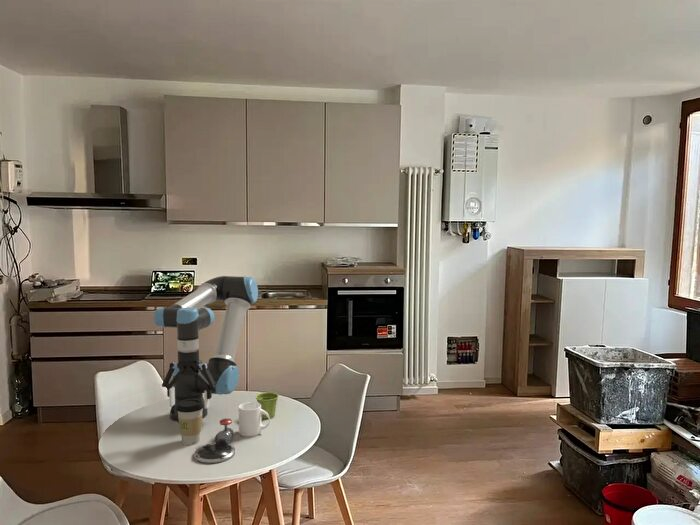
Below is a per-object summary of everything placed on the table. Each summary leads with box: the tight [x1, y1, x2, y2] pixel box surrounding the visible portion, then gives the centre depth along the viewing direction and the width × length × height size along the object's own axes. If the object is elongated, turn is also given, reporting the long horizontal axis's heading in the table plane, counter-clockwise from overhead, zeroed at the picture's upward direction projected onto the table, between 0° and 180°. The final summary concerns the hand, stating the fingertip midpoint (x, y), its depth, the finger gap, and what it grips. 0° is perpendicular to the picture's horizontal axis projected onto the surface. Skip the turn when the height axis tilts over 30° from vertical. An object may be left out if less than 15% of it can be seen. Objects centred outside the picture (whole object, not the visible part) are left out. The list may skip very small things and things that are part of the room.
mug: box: [238, 401, 271, 438], centre depth 206 cm, size 9×12×11 cm
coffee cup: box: [176, 399, 204, 446], centre depth 198 cm, size 10×10×15 cm
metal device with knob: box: [193, 418, 236, 465], centre depth 191 cm, size 20×14×9 cm
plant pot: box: [255, 392, 279, 419], centre depth 223 cm, size 9×9×9 cm
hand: (189, 406), depth 197 cm, fingers open, 13 cm apart
